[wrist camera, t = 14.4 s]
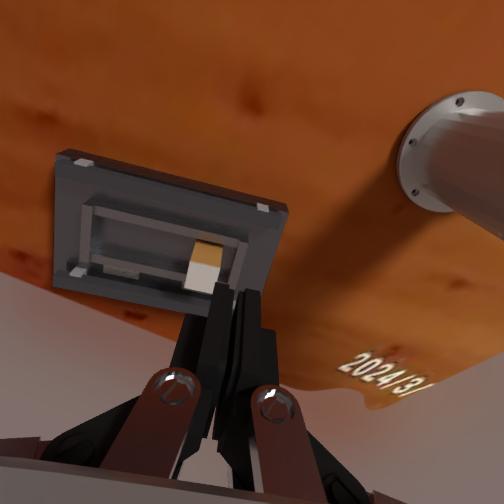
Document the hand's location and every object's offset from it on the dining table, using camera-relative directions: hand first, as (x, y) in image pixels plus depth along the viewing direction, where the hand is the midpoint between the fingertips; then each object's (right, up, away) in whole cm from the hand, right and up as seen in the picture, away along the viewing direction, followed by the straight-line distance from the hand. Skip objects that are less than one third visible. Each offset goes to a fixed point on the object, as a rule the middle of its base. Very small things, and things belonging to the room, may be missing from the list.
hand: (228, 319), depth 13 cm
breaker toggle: (-4, +2, +26) cm, 27 cm away
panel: (-9, +5, +28) cm, 30 cm away
